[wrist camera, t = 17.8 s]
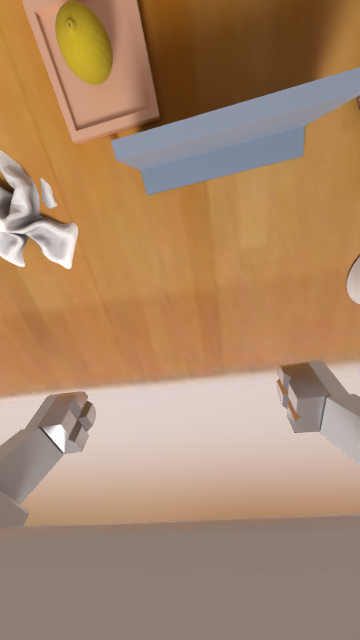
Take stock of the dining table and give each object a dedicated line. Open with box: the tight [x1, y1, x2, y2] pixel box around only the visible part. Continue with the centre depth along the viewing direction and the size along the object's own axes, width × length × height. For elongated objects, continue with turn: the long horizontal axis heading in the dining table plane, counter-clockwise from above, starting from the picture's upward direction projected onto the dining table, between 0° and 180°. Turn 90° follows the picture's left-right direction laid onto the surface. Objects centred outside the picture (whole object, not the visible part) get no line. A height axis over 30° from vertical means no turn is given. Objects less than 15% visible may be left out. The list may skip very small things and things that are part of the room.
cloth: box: [0, 151, 78, 269], centre depth 36 cm, size 22×19×6 cm
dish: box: [22, 0, 161, 144], centre depth 28 cm, size 13×13×2 cm
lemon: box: [55, 0, 113, 85], centre depth 25 cm, size 6×6×8 cm
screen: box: [111, 67, 360, 195], centre depth 27 cm, size 24×5×14 cm, turn 102°
